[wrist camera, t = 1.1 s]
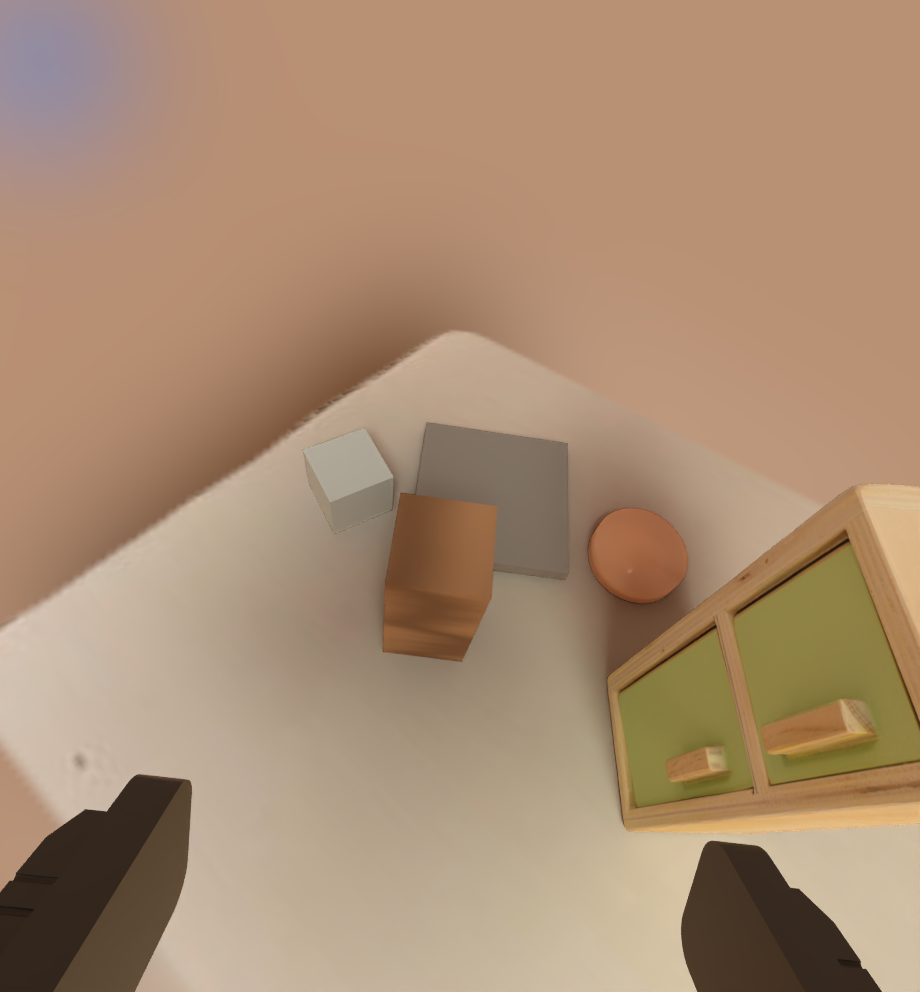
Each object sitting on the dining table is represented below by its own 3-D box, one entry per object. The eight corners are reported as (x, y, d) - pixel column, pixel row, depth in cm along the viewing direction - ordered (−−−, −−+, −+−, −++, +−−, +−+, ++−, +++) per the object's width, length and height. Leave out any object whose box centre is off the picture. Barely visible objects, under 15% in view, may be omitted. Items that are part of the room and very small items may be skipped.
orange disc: (654, 512, 40) (663, 501, 39) (692, 592, 37) (704, 584, 36) (574, 527, 38) (581, 516, 37) (608, 612, 36) (617, 603, 34)
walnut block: (468, 588, 35) (497, 506, 27) (461, 661, 33) (491, 597, 24) (394, 578, 35) (400, 492, 27) (382, 651, 33) (385, 583, 24)
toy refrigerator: (591, 672, 34) (835, 474, 16) (711, 678, 34) (1075, 495, 16) (606, 831, 29) (963, 807, 12) (743, 834, 30) (1277, 816, 12)
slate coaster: (563, 451, 42) (567, 443, 41) (564, 579, 36) (568, 573, 35) (425, 431, 41) (426, 422, 40) (406, 558, 36) (406, 551, 35)
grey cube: (365, 464, 39) (364, 427, 36) (392, 510, 38) (393, 477, 34) (309, 485, 38) (302, 449, 34) (334, 534, 36) (330, 502, 33)
